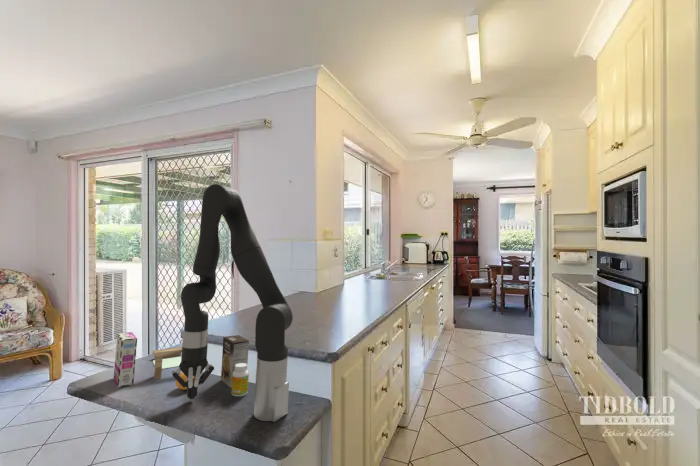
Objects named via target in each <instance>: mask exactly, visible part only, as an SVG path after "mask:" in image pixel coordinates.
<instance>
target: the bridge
mask: <svg viewBox="0 0 700 466" xmlns="http://www.w3.org/2000/svg"><path fill="white" fill-rule="evenodd" d="M180 352H181V353H182V346H179V347H178V346H177V347H171V348H163V349H156V350H152V356H153V357H154V358H155V359H154V360H155V366H154V371H153V377H154V380H157V379H162V370H163V369H162V358H163V355H166V354H173V353H180Z"/></svg>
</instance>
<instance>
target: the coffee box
mask: <svg viewBox="0 0 700 466" xmlns="http://www.w3.org/2000/svg"><path fill="white" fill-rule="evenodd" d="M249 341H250V339H249V340H248V339H247V338H245V337H243V336H241V335H239V334H238V335H227V336H223V339H222V355H221V357H222V358H221V370H220V371H221V373H220V380H221V381H222V383H224V384H225V385H226V386H227V387H228V388H230V389H232V375H233V372H234V371H235V365H236V364H238V363H246V364H247V365H248V361H249V359H248V358H249V348H248V344H249V345H250V342H249ZM246 370H248V368H247V369H246Z"/></svg>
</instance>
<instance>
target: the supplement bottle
mask: <svg viewBox="0 0 700 466" xmlns="http://www.w3.org/2000/svg"><path fill="white" fill-rule="evenodd" d="M246 369H247V370H246ZM249 376H250V373H249V371H248V363H247V364H246V363H238V364H236V365H235V371H234V372H233V375H232V388H231V391H230V393H231V396H234V397H244V396H246V395H247V394H248V391H249V380H250V379H249Z"/></svg>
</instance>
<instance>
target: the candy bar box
mask: <svg viewBox="0 0 700 466" xmlns="http://www.w3.org/2000/svg"><path fill="white" fill-rule="evenodd" d="M137 343H138V338H137V337H136V335H135V334H134V333H133V332H121V333H117V336H116V346H115V358H114V360H115V361H114V369H113V370H114V371H113V379H115V380H114V382H115V385H116V388H117V389H119V388H124V387H130V386H129V385H131V386H134V382H135V381H134V380H135V368H136V358H137V346H138V344H137Z"/></svg>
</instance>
